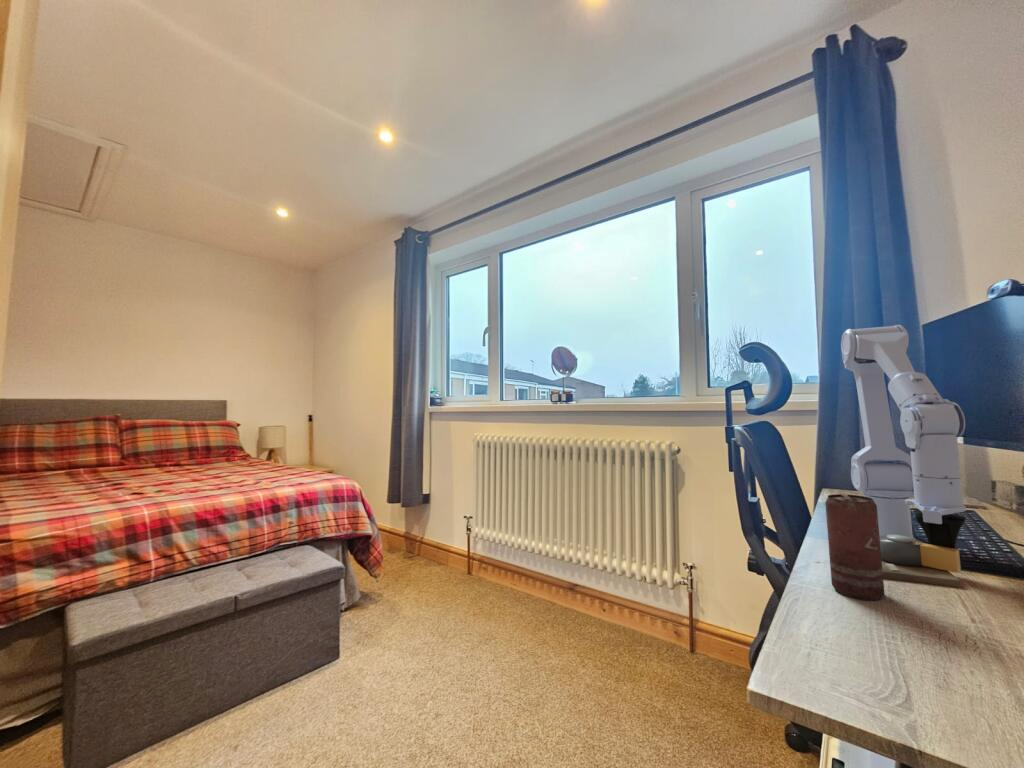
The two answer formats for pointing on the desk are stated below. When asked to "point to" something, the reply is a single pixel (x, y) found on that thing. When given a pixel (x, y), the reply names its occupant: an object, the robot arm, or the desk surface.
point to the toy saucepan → (918, 553)
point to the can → (854, 546)
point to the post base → (919, 574)
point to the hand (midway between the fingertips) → (943, 560)
